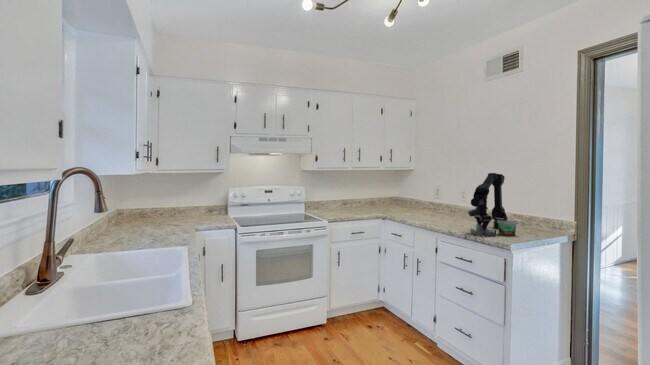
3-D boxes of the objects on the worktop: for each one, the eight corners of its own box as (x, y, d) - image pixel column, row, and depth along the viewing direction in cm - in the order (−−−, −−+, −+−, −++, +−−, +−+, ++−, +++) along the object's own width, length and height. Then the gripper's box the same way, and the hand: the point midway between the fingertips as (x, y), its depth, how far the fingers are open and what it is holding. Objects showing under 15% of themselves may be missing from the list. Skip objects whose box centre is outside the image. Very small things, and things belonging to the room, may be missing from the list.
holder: (487, 232, 215) (487, 228, 214) (493, 235, 205) (493, 231, 205) (470, 232, 216) (470, 228, 216) (475, 235, 206) (475, 231, 206)
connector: (484, 233, 213) (484, 224, 212) (486, 234, 208) (487, 225, 207) (476, 233, 213) (476, 224, 213) (478, 234, 208) (478, 225, 208)
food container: (500, 236, 202) (500, 221, 202) (496, 234, 208) (496, 219, 208) (520, 237, 200) (521, 221, 200) (516, 235, 206) (517, 219, 206)
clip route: (495, 233, 211) (495, 229, 210) (502, 237, 200) (502, 233, 200) (477, 233, 212) (477, 229, 212) (483, 236, 201) (483, 232, 201)
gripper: (465, 203, 220) (464, 225, 221) (473, 207, 201) (473, 231, 202) (481, 203, 218) (481, 226, 219) (492, 207, 200) (491, 231, 201)
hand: (481, 228), depth 210 cm, fingers open, 9 cm apart
